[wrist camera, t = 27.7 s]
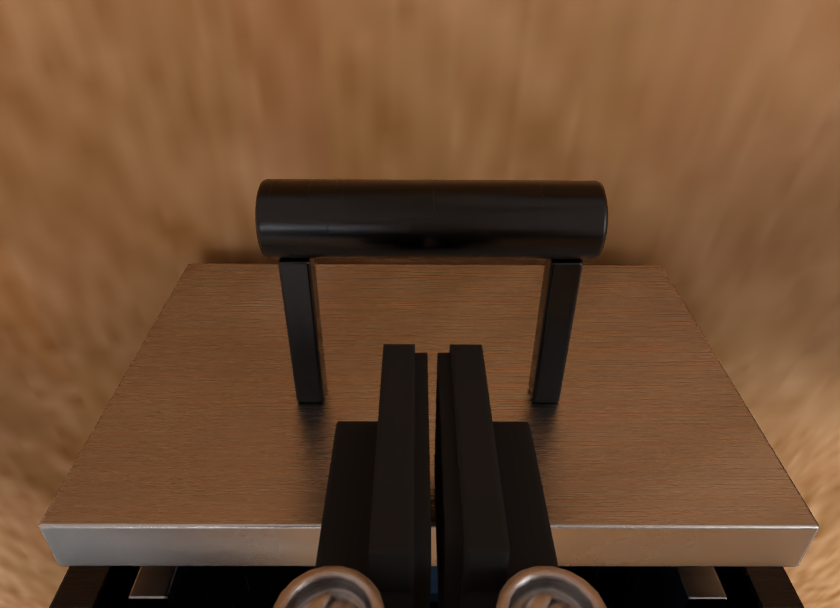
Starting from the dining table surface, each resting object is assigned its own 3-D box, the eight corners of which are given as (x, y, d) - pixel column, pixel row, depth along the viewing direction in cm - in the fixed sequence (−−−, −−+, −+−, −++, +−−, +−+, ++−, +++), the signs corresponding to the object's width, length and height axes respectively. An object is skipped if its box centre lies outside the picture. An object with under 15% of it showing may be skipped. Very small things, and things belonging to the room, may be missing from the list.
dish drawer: (148, 89, 16) (-89, 287, 8) (704, 92, 16) (955, 291, 8) (260, 580, 27) (202, 845, 20) (581, 580, 27) (641, 844, 20)
